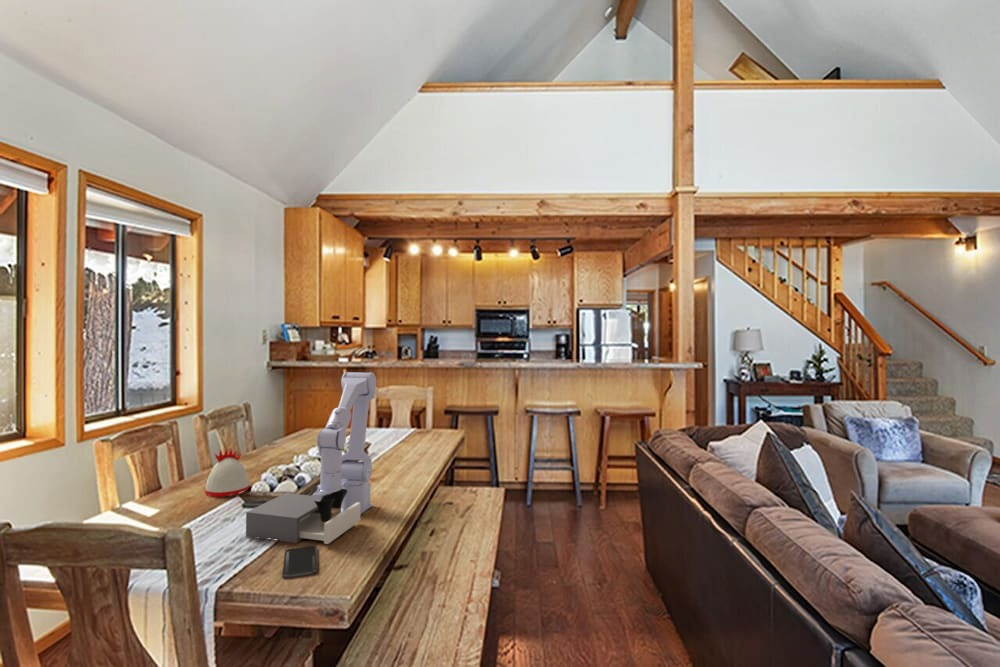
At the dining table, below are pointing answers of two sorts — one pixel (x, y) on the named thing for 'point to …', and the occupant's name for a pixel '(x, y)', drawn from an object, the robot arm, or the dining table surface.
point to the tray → (329, 524)
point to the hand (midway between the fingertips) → (330, 518)
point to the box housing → (280, 517)
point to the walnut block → (333, 513)
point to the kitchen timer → (227, 476)
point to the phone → (300, 562)
